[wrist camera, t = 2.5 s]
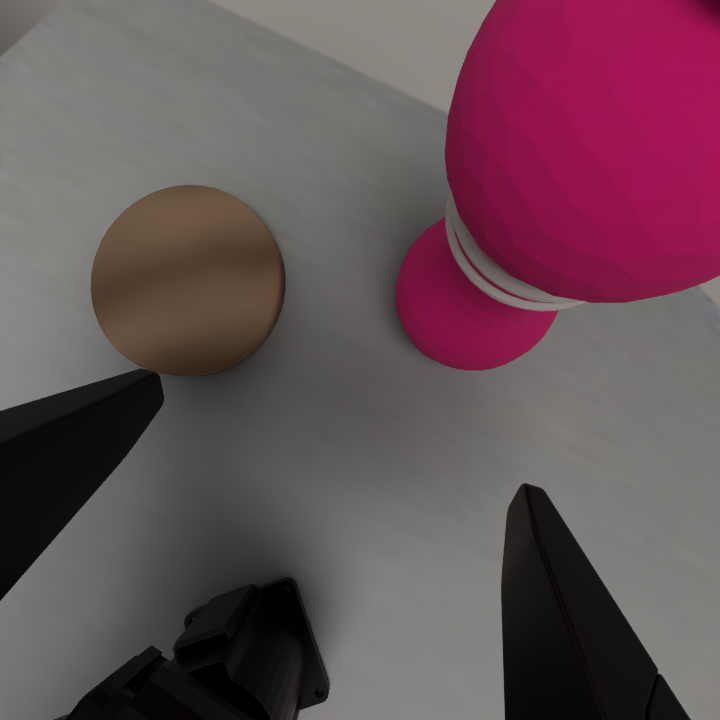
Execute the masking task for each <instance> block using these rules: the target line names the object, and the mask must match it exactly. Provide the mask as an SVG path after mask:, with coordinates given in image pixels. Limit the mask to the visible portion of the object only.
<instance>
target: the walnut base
mask: <svg viewBox="0 0 720 720" xmlns="http://www.w3.org/2000/svg"><path fill="white" fill-rule="evenodd" d="M284 294H285V271H284V264H283V260H282V257H281V253H280V251H279V249H278V246H277V244H276V242H275V240H274V239H273V237H272V235H271V234H270V232H269V231H268V229H267V228H266V227H265V225H264V224H263V223H262V221H261V220H260V219H259V218H258V216H257V215H256V214H255V213H254V212H253V211H252V210H251V209H250V208H249V207H248V206H247V205H246V204H244V203H243V202H241V201H240V200H238V199H237V198H235V197H233V196H231V195H230V194H228V193H226V192H223V191H220V190H217V189H214V188H210V187H205V186H195V185H185V186H175V187H170V188H166V189H162V190H159V191H156V192H154V193H152V194H149V195H147V196H145V197H143V198H142V199H140V200H138V201H137V202H135V203H134V204H132V205H131V206H130V207H129V208H127V209H126V210H125V211H124V212H123V213H122V214H121V215H120V216H119V217H118V218H117V219H116V220H115V221H114V223H113V224H112V225H111V226H110V228H109V229H108V231H107V232H106V234H105V236H104V237H103V239H102V241H101V243H100V246H99V248H98V250H97V253H96V256H95V260H94V263H93V269H92V275H91V295H92V302H93V307H94V311H95V314H96V317H97V320H98V322H99V324H100V326H101V328H102V330H103V332H104V334H105V335H106V337H107V338H108V339H109V341H110V342H111V344H112V345H113V346H114V347H115V348H116V349H117V350H118V351H119V352H120V353H121V354H123V355H124V356H125V357H127V358H128V359H129V360H131V361H132V362H134V363H136V364H138V365H139V366H141V367H144V368H146V369H149V370H151V371H155V372H159V373H163V374H172V375H183V376H202V375H208V374H213V373H217V372H220V371H224V370H226V369H228V368H230V367H233V366H235V365H236V364H238V363H240V362H241V361H243V360H245V359H246V358H247V357H249V356H250V355H251V354H252V353H253V352H255V351H256V350H257V349H258V348H259V347H260V345H261V344H262V343H263V342H264V341H265V340H266V338H267V337H268V335H269V334H270V333H271V331H272V329H273V327H274V326H275V324H276V322H277V319H278V317H279V314H280V312H281V308H282V305H283V301H284Z"/></svg>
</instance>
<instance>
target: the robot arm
mask: <svg viewBox="0 0 720 720" xmlns="http://www.w3.org/2000/svg"><path fill="white" fill-rule="evenodd" d="M163 402H164V394H163V389H162V384H161V379H160V376H159V374H158V373H156V372H154V371H150V370H147V369H138V370H135V371H131V372H128V373H125V374H121V375H118V376H115V377H111V378H108V379H105V380H101V381H98V382H95V383H91V384H88V385H85V386H82V387H78V388H75V389H72V390H68V391H65V392H62V393H58V394H55V395H52V396H48V397H45V398H42V399H38V400H35V401H32V402H28V403H25V404H22V405H18V406H15V407H12V408H8V409H5V410H2V411H0V601H1V600H2V598H3V597H4V596H5V595H6V594H7V593H8V591H9V590H10V589H11V588H12V587H13V586H14V585H15V583H16V582H17V581H18V580H19V579H20V578H21V577H22V575H23V574H24V573H25V572H26V571H27V570H28V568H29V567H30V566H31V565H32V564H33V563H34V562H35V560H36V559H37V558H38V557H39V556H40V555H41V554H42V552H43V551H44V550H45V549H46V548H47V547H48V545H49V544H50V543H51V542H52V541H53V540H54V539H55V537H56V536H57V535H58V534H59V533H60V532H61V531H62V529H63V528H64V527H65V526H66V525H67V524H68V522H69V521H70V520H71V519H72V518H73V517H74V516H75V514H76V513H77V512H78V511H79V510H80V509H81V507H82V506H83V505H84V504H85V503H86V502H87V501H88V499H89V498H90V497H91V496H92V495H93V494H94V493H95V491H96V490H97V489H98V488H99V487H100V486H101V484H102V483H103V482H104V481H105V480H106V479H107V478H108V476H109V475H110V474H111V473H112V472H113V471H114V470H115V468H116V467H117V466H118V465H119V464H120V463H121V461H122V460H123V459H124V458H125V457H126V455H127V454H128V453H129V451H130V450H131V449H132V447H133V446H134V445H135V443H136V442H137V440H138V439H139V438H140V436H141V435H142V433H143V432H144V431H145V429H146V428H147V426H148V425H149V424H150V422H151V421H152V419H153V418H154V417H155V415H156V414H157V412H158V411H159V410H160V408H161V407H162V405H163ZM284 586H289V587H290V589H291V591H288V592H287V591H285V590H284ZM501 604H502V637H503V669H504V702H505V720H691V719H690V718H689V716H688V715H687V713H686V712H685V710H684V709H683V707H682V706H681V704H680V703H679V701H678V700H677V698H676V696H675V695H674V693H673V692H672V690H671V689H670V687H669V685H668V684H667V682H666V681H665V679H664V678H663V676H662V675H661V674H658V668H657V667H656V665H655V664H654V662H653V661H652V659H651V657H650V656H649V654H648V653H647V651H646V650H645V648H644V646H643V645H642V643H641V642H640V640H639V638H638V637H637V635H636V634H635V632H634V631H633V629H632V627H631V626H630V624H629V623H628V621H627V620H626V618H625V616H624V615H623V613H622V612H621V610H620V609H619V607H618V605H617V604H616V602H615V601H614V599H613V598H612V596H611V594H610V593H609V591H608V590H607V588H606V587H605V585H604V583H603V582H602V580H601V579H600V577H599V576H598V574H597V572H596V571H595V569H594V568H593V566H592V565H591V563H590V561H589V560H588V558H587V557H586V555H585V554H584V552H583V550H582V549H581V547H580V546H579V544H578V543H577V541H576V539H575V538H574V536H573V535H572V533H571V532H570V530H569V528H568V527H567V525H566V524H565V522H564V521H563V519H562V517H561V516H560V514H559V513H558V511H557V509H556V508H555V506H554V505H553V503H552V502H551V500H550V498H549V497H548V495H547V494H546V492H545V491H544V490H543V489H542V488H540V487H537V486H533V485H530V484H527V483H524V484H522V485H521V486H520V487H519V489H518V491H517V493H516V495H515V496H514V498H513V500H512V502H511V503H510V505H509V508H508V512H507V519H506V531H505V543H504V554H503V566H502V579H501ZM192 618H195V619H194V621H193V620H192ZM184 623H185V628H186V630H185V631H184V633H183V634H182V635H181V636H180V637H179V639H178V640H177V641H176V643H175V645H174V647H173V653H174V658H173V659H172V660H171V661H169V660H167V659H166V658H165V657H163V656H162V655H161V654H162V652H161V651H160V650H158V649H157V648H155V647H154V646H152V645H151V646H150V647H149V648H147V649H146V650H145V651H144V652H142V653H141V654H140V655H139V656H135V657H133V658H132V659H131V660H129V661H128V662H127V663H126V664H124V665H123V666H122V667H120V668H119V669H118V670H117V671H115V672H114V673H113V674H111V675H110V676H109V677H108V678H106V679H105V680H104V681H102V682H101V683H100V684H99V685H97V686H96V687H95V688H94V689H92V690H91V691H90V692H88V693H87V694H86V695H85V696H84V697H83V698H82V699H81V700H80V701H79V703H78V704H77V705H76V707H75V708H74V709H73V711H72V712H71V713H69V714H67V715H64V716H61V717H59V718H56V719H54V720H297V719H298V715H299V711H300V710H301V709H304V708H307V707H310V706H313V705H316V704H319V703H322V702H324V701H326V699H327V698H328V694H329V689H330V687H329V682H328V679H327V676H326V673H325V670H324V667H323V664H322V661H321V658H320V655H319V652H318V649H317V645H316V642H315V639H314V636H313V633H312V630H311V627H310V624H309V621H308V618H307V615H306V612H305V609H304V606H303V603H302V599H301V596H300V593H299V590H298V587H297V584H296V582H295V581H294V580H293V579H292V578H289V577H288V578H283V579H280V580H278V581H275V582H272V583H269V584H266V585H263V586H260V587H257V586H256V585H253V584H251V585H248V586H245V587H242V588H240V589H237V590H234V591H231V592H228V593H225V594H222V595H220V596H217V597H214V598H212V599H211V600H210V601H209V603H208V604H207V605H206V606H203V607H200V608H197V609H194V610H193V611H191V612H190V613H189V614H188V615H187V617H186V618H185V621H184ZM317 688H321V689H323V692H318V691H317Z"/></svg>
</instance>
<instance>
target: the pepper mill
mask: <svg viewBox="0 0 720 720" xmlns="http://www.w3.org/2000/svg"><path fill="white" fill-rule="evenodd" d="M445 162H446V172H447V179H448V182H449V186H450V192H449V196H448V199H447V205H446V212H445V218H443V219H441V220H440V221H439V222H437V223H436V224H434V225H433V226H431V227H430V228H428V229H427V230H426V231H425V232H424V233H423V234H422V235H421V236H420V237H419V238H418V239H417V240H416V241H415V242H414V244H413V245H412V246H411V248H410V249H409V251H408V253H407V255H406V257H405V259H404V261H403V263H402V266H401V268H400V272H399V275H398V278H397V284H396V306H397V311H398V315H399V318H400V321H401V323H402V326H403V328H404V330H405V331H406V333H407V335H408V336H409V338H410V339H411V341H412V342H413V344H414V345H415V346H416V347H417V348H418V349H419V350H420V351H421V352H422V353H423V354H424V355H426V356H427V357H429V358H431V359H432V360H435V361H437V362H439V363H441V364H443V365H446V366H449V367H452V368H456V369H462V370H486V369H492V368H495V367H499V366H502V365H505V364H507V363H509V362H511V361H513V360H515V359H516V358H518V357H520V356H521V355H523V354H524V353H526V352H527V351H529V350H530V349H531V348H533V347H534V346H535V345H536V344H537V343H538V342H539V341H540V340H541V339H542V337H543V336H544V335H545V333H546V332H547V330H548V329H549V327H550V326H551V324H552V322H553V320H554V318H555V317H556V315H557V313H558V311H559V310H562V309H566V308H571V307H574V306H578V305H581V304H583V303H585V302H591V303H625V302H631V301H636V300H641V299H646V298H652V297H657V296H662V295H667V294H671V293H675V292H678V291H682V290H685V289H688V288H691V287H693V286H696V285H699V284H701V283H704V282H707V281H709V280H711V279H713V278H715V277H717V276H720V0H496V2H495V3H494V5H493V7H492V8H491V10H490V11H489V13H488V14H487V16H486V18H485V19H484V21H483V23H482V25H481V27H480V29H479V31H478V33H477V35H476V36H475V38H474V40H473V42H472V44H471V46H470V48H469V50H468V52H467V55H466V58H465V61H464V63H463V66H462V68H461V71H460V74H459V77H458V80H457V84H456V88H455V91H454V95H453V99H452V103H451V107H450V111H449V115H448V123H447V134H446V146H445Z"/></svg>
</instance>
